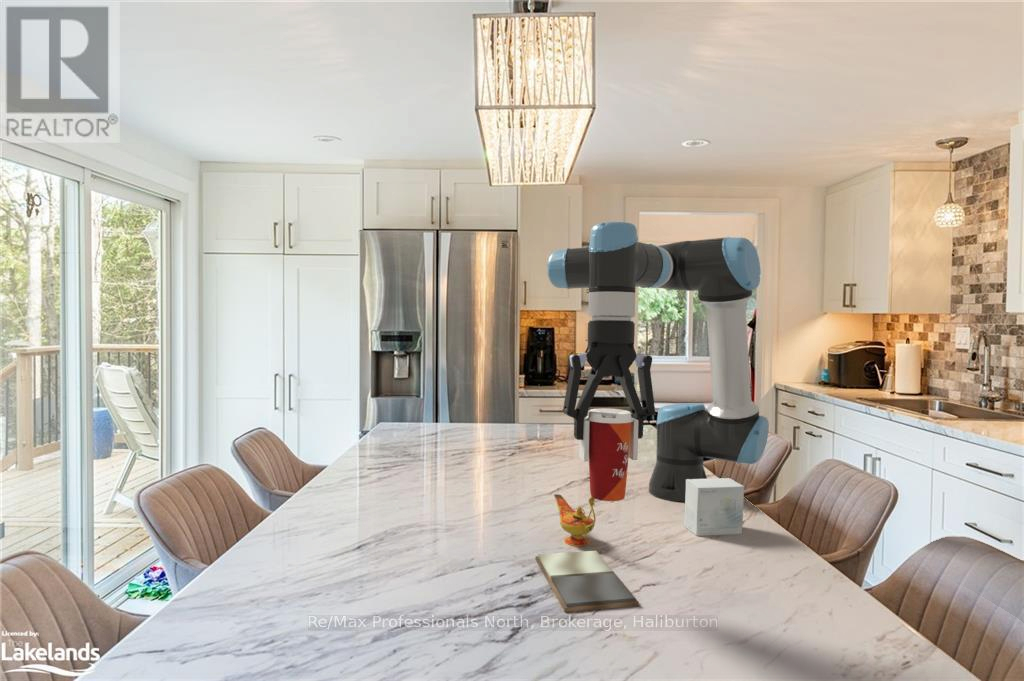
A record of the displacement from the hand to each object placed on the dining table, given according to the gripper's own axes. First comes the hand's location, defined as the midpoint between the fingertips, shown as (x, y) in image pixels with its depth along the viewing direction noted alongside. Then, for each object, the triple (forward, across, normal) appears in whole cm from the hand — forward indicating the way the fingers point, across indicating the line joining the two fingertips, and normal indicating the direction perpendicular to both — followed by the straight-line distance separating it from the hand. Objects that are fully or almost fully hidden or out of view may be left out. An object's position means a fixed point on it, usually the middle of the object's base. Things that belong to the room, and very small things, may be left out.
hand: (608, 458), depth 97 cm
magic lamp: (+22, -2, -24) cm, 32 cm away
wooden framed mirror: (+22, +2, -4) cm, 23 cm away
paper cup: (+6, 0, 0) cm, 6 cm away
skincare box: (+22, -33, -23) cm, 46 cm away
